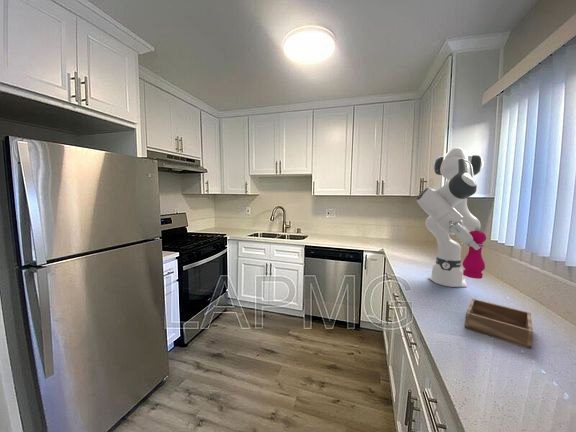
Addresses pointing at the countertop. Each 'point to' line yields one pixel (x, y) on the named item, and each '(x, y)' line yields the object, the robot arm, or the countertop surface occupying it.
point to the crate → (500, 322)
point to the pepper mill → (475, 256)
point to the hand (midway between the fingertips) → (477, 247)
